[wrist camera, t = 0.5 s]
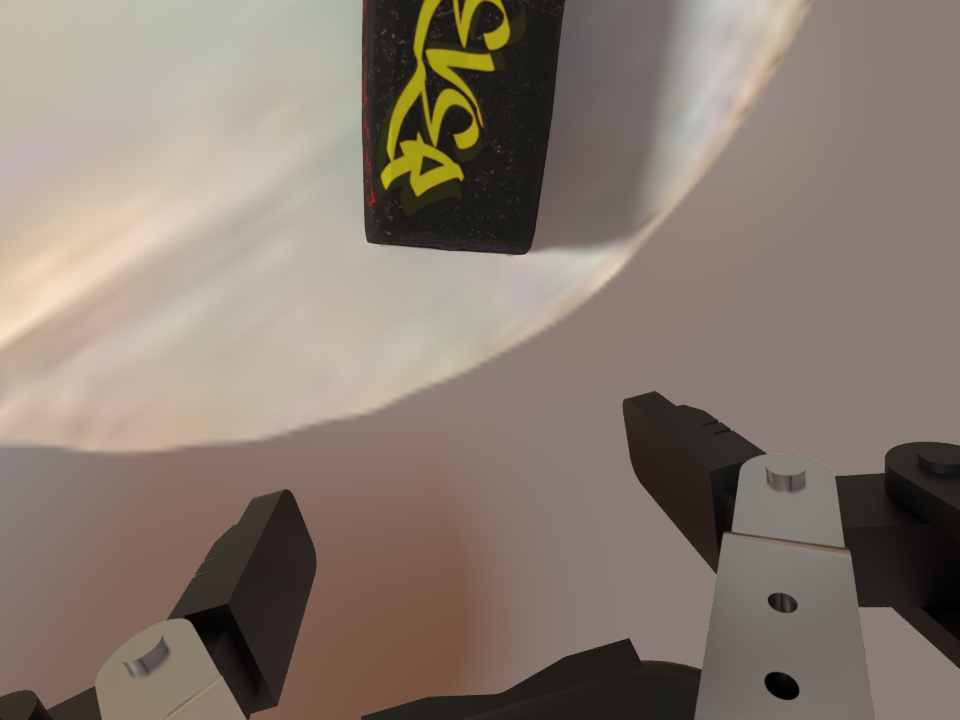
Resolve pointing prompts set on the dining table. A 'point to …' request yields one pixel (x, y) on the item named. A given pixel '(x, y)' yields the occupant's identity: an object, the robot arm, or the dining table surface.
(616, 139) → the dining table surface
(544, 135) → the toy van
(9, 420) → the dining table surface
